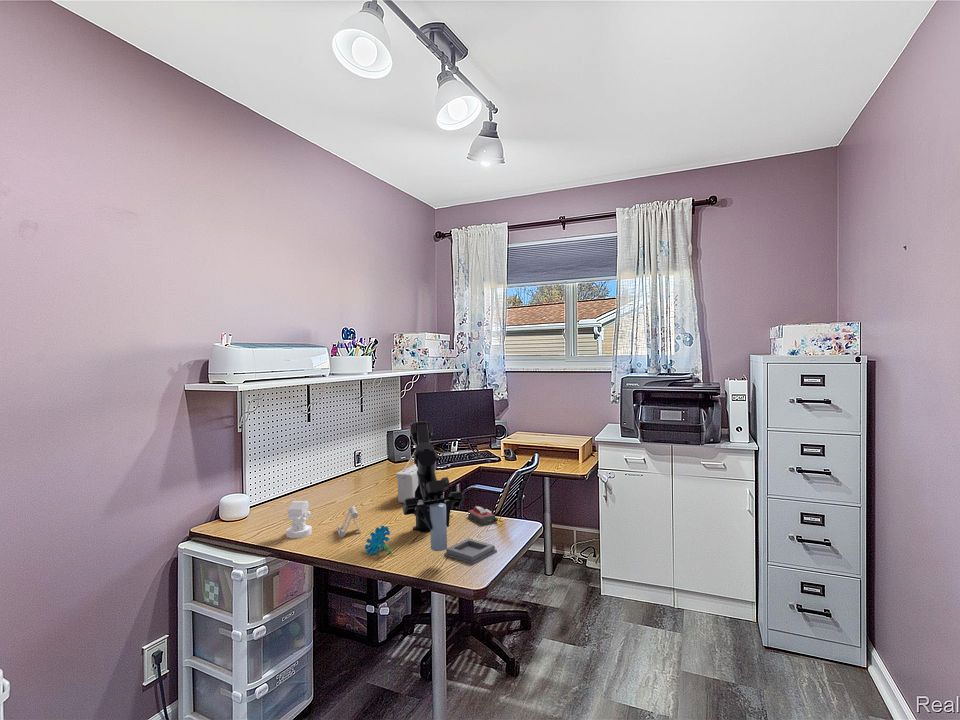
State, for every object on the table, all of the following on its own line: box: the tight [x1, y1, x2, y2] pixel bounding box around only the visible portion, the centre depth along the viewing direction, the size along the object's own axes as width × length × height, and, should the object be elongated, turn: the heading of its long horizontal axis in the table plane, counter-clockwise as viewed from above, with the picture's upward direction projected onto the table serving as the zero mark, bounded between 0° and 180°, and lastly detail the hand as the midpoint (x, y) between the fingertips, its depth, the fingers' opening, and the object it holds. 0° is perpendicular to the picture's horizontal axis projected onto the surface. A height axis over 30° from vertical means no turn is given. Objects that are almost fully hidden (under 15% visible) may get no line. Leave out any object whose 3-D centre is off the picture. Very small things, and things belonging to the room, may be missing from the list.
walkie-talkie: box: [467, 505, 499, 526], centre depth 193 cm, size 9×4×20 cm
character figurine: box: [285, 500, 313, 539], centre depth 178 cm, size 9×10×12 cm
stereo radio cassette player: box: [395, 449, 418, 504], centre depth 223 cm, size 21×8×20 cm, turn 163°
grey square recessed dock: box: [443, 537, 498, 565], centre depth 157 cm, size 12×12×2 cm
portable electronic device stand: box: [336, 505, 362, 539], centre depth 179 cm, size 9×8×8 cm
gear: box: [364, 525, 393, 556], centre depth 161 cm, size 11×6×10 cm
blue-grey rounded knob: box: [429, 503, 448, 552], centre depth 149 cm, size 5×5×13 cm
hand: (439, 527), depth 148 cm, fingers closed on blue-grey rounded knob, 5 cm apart
